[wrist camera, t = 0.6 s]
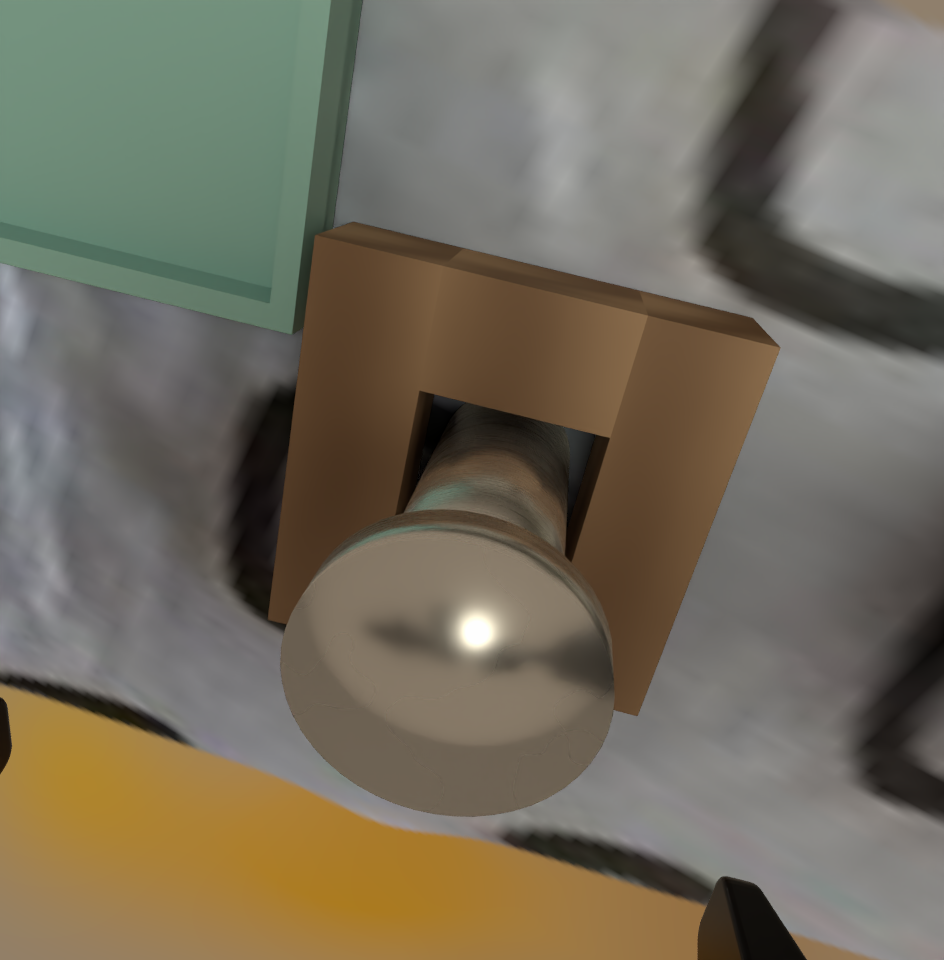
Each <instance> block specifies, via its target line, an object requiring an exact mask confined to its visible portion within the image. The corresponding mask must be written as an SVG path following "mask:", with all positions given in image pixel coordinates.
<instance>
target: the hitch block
mask: <svg viewBox="0 0 944 960" xmlns="http://www.w3.org/2000/svg"><path fill="white" fill-rule="evenodd" d="M779 350H780V347H779V346H778V344H777V343H776V342H775V341H774V340H773V339H772V338H771V337H770V336H769V335H768V334H767V333H766V332H765V331H764V330H763V329H762V328H761V326H760V325H759V324H758V323H757V322H756V321H755V320H754V319H753V318H751V317H746V316H742V315H738V314H734V313H730V312H726V311H721V310H717V309H713V308H709V307H705V306H701V305H697V304H692V303H688V302H684V301H680V300H676V299H672V298H668V297H663V296H659V295H655V294H651V293H647V292H643V291H639V290H634V289H630V288H626V287H622V286H618V285H614V284H609V283H605V282H601V281H597V280H593V279H589V278H585V277H580V276H576V275H572V274H568V273H564V272H560V271H556V270H551V269H547V268H543V267H539V266H535V265H531V264H527V263H522V262H518V261H514V260H510V259H506V258H502V257H497V256H493V255H489V254H485V253H481V252H477V251H473V250H468V249H464V248H460V247H456V246H452V245H448V244H444V243H439V242H435V241H431V240H427V239H423V238H419V237H415V236H410V235H406V234H402V233H398V232H394V231H390V230H385V229H381V228H377V227H373V226H369V225H365V224H361V223H356V222H351V223H349V224H346V225H343V226H340V227H337V228H334V229H331V230H328V231H325V232H322V233H319V234H316V235H315V239H314V247H313V255H312V264H311V272H310V280H309V288H308V296H307V304H306V312H305V321H304V329H303V337H302V345H301V353H300V361H299V369H298V378H297V386H296V394H295V402H294V410H293V418H292V427H291V435H290V443H289V451H288V459H287V467H286V475H285V484H284V492H283V500H282V508H281V516H280V524H279V532H278V541H277V549H276V557H275V565H274V573H273V581H272V589H271V598H270V606H269V614H268V620H271V621H275V622H279V623H283V624H287V623H288V621H289V618H290V616H291V613H292V611H293V610H294V608H295V606H296V605H297V603H298V601H299V600H300V598H301V597H302V595H303V593H304V592H305V590H306V589H307V587H308V585H309V584H310V582H311V581H312V579H313V577H314V576H315V574H316V573H317V571H318V569H319V568H320V566H321V565H322V563H323V562H324V561H325V560H326V559H327V557H328V556H329V555H330V554H331V553H332V551H333V550H335V549H336V548H337V547H338V546H339V545H340V544H341V543H343V542H344V541H345V540H346V539H347V538H349V537H350V536H352V535H353V534H355V533H356V532H358V531H359V530H361V529H363V528H365V527H367V526H369V525H371V524H373V523H375V522H377V521H380V520H382V519H385V518H389V517H392V516H395V515H398V514H402V513H404V511H405V509H406V507H407V505H408V503H409V501H410V499H411V497H412V495H413V493H414V491H415V487H416V482H417V477H418V472H419V467H420V463H421V458H422V453H423V448H424V443H425V438H426V433H427V428H428V423H429V418H430V413H431V408H432V403H433V398H434V394H435V395H439V396H443V397H447V398H451V399H455V400H459V401H463V402H467V403H471V404H475V405H479V406H483V407H487V408H491V409H496V410H500V411H504V412H508V413H512V414H516V415H520V416H524V417H528V418H532V419H536V420H540V421H544V422H548V423H552V424H556V425H560V426H564V427H568V428H572V429H576V430H580V431H584V432H588V433H592V434H596V436H595V439H594V443H593V446H592V449H591V453H590V456H589V459H588V463H587V466H586V469H585V473H584V476H583V479H582V483H581V486H580V489H579V493H578V496H577V499H576V503H575V506H574V509H573V513H572V516H571V519H570V523H569V526H568V529H567V533H566V542H565V556H566V557H567V558H568V559H569V560H570V561H571V563H572V564H573V565H574V566H575V567H576V568H577V569H578V570H579V571H580V572H581V573H582V575H583V576H584V577H585V579H586V580H587V581H588V583H589V584H590V585H591V587H592V588H593V590H594V592H595V594H596V596H597V597H598V599H599V601H600V603H601V605H602V608H603V610H604V613H605V615H606V618H607V621H608V625H609V629H610V634H611V639H612V655H613V675H614V694H615V699H614V708H613V710H616V711H620V712H624V713H627V714H631V715H635V716H638V713H639V711H640V708H641V706H642V703H643V701H644V698H645V695H646V693H647V690H648V688H649V685H650V683H651V680H652V677H653V675H654V672H655V670H656V667H657V665H658V662H659V659H660V657H661V654H662V652H663V649H664V646H665V644H666V641H667V639H668V636H669V634H670V631H671V628H672V626H673V623H674V621H675V618H676V616H677V613H678V610H679V608H680V605H681V603H682V600H683V598H684V595H685V592H686V590H687V587H688V585H689V582H690V580H691V577H692V574H693V572H694V569H695V567H696V564H697V562H698V559H699V556H700V554H701V551H702V549H703V546H704V544H705V541H706V538H707V536H708V533H709V531H710V528H711V525H712V523H713V520H714V518H715V515H716V513H717V510H718V507H719V505H720V502H721V500H722V497H723V495H724V492H725V489H726V487H727V484H728V482H729V479H730V477H731V474H732V471H733V469H734V466H735V464H736V461H737V459H738V456H739V453H740V451H741V448H742V446H743V443H744V441H745V438H746V435H747V433H748V430H749V428H750V425H751V423H752V420H753V417H754V415H755V412H756V410H757V407H758V404H759V402H760V399H761V397H762V394H763V392H764V389H765V386H766V384H767V381H768V379H769V376H770V374H771V371H772V368H773V366H774V363H775V361H776V358H777V356H778V353H779Z"/></svg>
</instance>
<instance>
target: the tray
mask: <svg viewBox="0 0 944 960" xmlns="http://www.w3.org/2000/svg"><path fill="white" fill-rule="evenodd" d="M361 8H362V0H0V263H3V264H7V265H11V266H15V267H20V268H24V269H28V270H32V271H36V272H40V273H44V274H48V275H52V276H56V277H60V278H64V279H68V280H72V281H76V282H80V283H84V284H88V285H92V286H96V287H100V288H104V289H109V290H113V291H117V292H121V293H125V294H129V295H133V296H137V297H141V298H145V299H149V300H153V301H157V302H161V303H165V304H169V305H173V306H177V307H181V308H185V309H189V310H193V311H198V312H202V313H206V314H210V315H214V316H218V317H222V318H226V319H230V320H234V321H238V322H242V323H246V324H250V325H254V326H258V327H262V328H266V329H270V330H274V331H278V332H282V333H286V334H291V335H292V334H294V333H296V332H297V331H299V330H300V329H302V328H303V327H304V321H305V312H306V304H307V296H308V288H309V280H310V272H311V264H312V255H313V247H314V239H315V235H316V234H319V233H322V232H325V231H328V230H331V229H332V228H333V221H334V213H335V205H336V198H337V190H338V183H339V175H340V167H341V160H342V152H343V145H344V137H345V129H346V122H347V114H348V107H349V99H350V91H351V84H352V76H353V68H354V61H355V53H356V46H357V38H358V30H359V23H360V15H361Z"/></svg>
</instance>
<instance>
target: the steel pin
mask: <svg viewBox="0 0 944 960" xmlns="http://www.w3.org/2000/svg"><path fill="white" fill-rule="evenodd" d="M569 466H570V446H569V441H568V437H567V434H566V432H565V429H564V427H563V426H560V425H556V424H552V423H548V422H544V421H540V420H536V419H532V418H528V417H524V416H520V415H516V414H512V413H508V412H504V411H500V410H496V409H491V408H487V407H483V406H479V405H475V404H471V403H465V404H464V405H463V406H461V407H460V408H459V409H458V410H457V411H456V412H455V414H454V415H453V416H452V417H451V419H450V420H449V422H448V424H447V426H446V428H445V430H444V432H443V434H442V436H441V438H440V440H439V442H438V444H437V446H436V448H435V450H434V452H433V454H432V456H431V458H430V460H429V462H428V464H427V466H426V468H425V470H424V472H423V474H422V476H421V479H420V481H419V483H418V485H417V487H416V489H415V491H414V493H413V495H412V497H411V499H410V501H409V503H408V505H407V507H406V509H405V511H404V513H402V514H398V515H395V516H392V517H389V518H385V519H382V520H380V521H377V522H375V523H373V524H371V525H369V526H367V527H365V528H363V529H361V530H359V531H358V532H356V533H355V534H353V535H352V536H350V537H349V538H347V539H346V540H345V541H344V542H343V543H341V544H340V545H339V546H338V547H337V548H336V549H335V550H333V551H332V553H331V554H330V555H329V556H328V557H327V559H326V560H325V561H324V562H323V563H322V565H321V566H320V568H319V569H318V571H317V573H316V574H315V576H314V577H313V579H312V581H311V582H310V584H309V585H308V587H307V589H306V590H305V592H304V593H303V595H302V597H301V598H300V600H299V601H298V603H297V605H296V606H295V608H294V610H293V611H292V613H291V616H290V618H289V621H288V623H287V626H286V628H285V632H284V637H283V641H282V646H281V661H280V667H281V677H282V684H283V688H284V692H285V696H286V700H287V702H288V705H289V707H290V709H291V712H292V714H293V717H294V718H295V720H296V722H297V724H298V725H299V727H300V729H301V731H302V733H303V734H304V735H305V737H306V738H307V739H308V741H309V742H310V743H311V745H312V746H313V747H314V748H315V750H316V751H317V752H318V753H319V754H320V755H321V756H322V757H323V758H324V759H325V760H326V761H327V762H328V763H329V764H330V765H331V766H333V767H334V768H335V769H336V770H337V771H338V772H340V773H341V774H342V775H343V776H345V777H346V778H348V779H349V780H351V781H352V782H353V783H355V784H356V785H358V786H360V787H361V788H363V789H365V790H367V791H369V792H370V793H372V794H374V795H376V796H378V797H381V798H383V799H385V800H388V801H390V802H392V803H395V804H398V805H401V806H404V807H407V808H410V809H413V810H418V811H423V812H427V813H432V814H439V815H447V816H469V817H474V816H486V815H495V814H501V813H506V812H511V811H515V810H518V809H521V808H524V807H528V806H531V805H533V804H535V803H538V802H540V801H542V800H544V799H547V798H549V797H550V796H552V795H554V794H555V793H557V792H558V791H560V790H562V789H563V788H565V787H566V786H567V785H568V784H570V783H571V782H572V781H573V780H575V779H576V778H577V777H578V776H579V775H580V774H581V773H582V772H583V771H584V770H585V769H586V768H587V767H588V765H589V764H590V763H591V762H592V760H593V759H594V757H595V756H596V754H597V753H598V751H599V750H600V748H601V746H602V744H603V742H604V740H605V738H606V736H607V733H608V730H609V727H610V723H611V720H612V716H613V708H614V699H615V694H614V675H613V655H612V639H611V634H610V629H609V625H608V621H607V618H606V615H605V613H604V610H603V608H602V605H601V603H600V601H599V599H598V597H597V596H596V594H595V592H594V590H593V588H592V587H591V585H590V584H589V583H588V581H587V580H586V579H585V577H584V576H583V575H582V573H581V572H580V571H579V570H578V569H577V568H576V567H575V566H574V565H573V564H572V563H571V561H570V560H569V559H568V558H567V557H566V556H565V542H566V523H567V504H568V485H569Z"/></svg>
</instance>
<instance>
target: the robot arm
mask: <svg viewBox="0 0 944 960" xmlns="http://www.w3.org/2000/svg"><path fill="white" fill-rule="evenodd" d="M11 748H12V743H11V733H10V725H9V716H8V708H7V704H6V702H5V701H4V700H3V699H2V698H0V774H1V772H2V771H3V769H4V768H5V766H6V764H7V762H8V760H9V757H10V754H11ZM698 960H807V959H806V958H805V956H804V955H803V953H802V952H801V950H800V949H799V947H798V946H797V944H796V943H795V941H794V940H793V938H792V936H791V935H790V933H789V932H788V930H787V929H786V927H785V926H784V924H783V923H782V921H781V920H780V918H779V917H778V915H777V913H776V912H775V910H774V909H773V907H772V906H771V904H770V903H769V901H768V900H767V898H766V897H765V895H764V894H763V892H762V891H761V889H760V888H759V887H758V886H757V885H755V884H754V883H751V882H748V881H744V880H740V879H736V878H731V877H727V876H723V877H721V878H720V879H719V880H718V881H717V883H716V885H715V888H714V890H713V892H712V895H711V897H710V900H709V902H708V905H707V907H706V909H705V912H704V915H703V917H702V919H701V922H700V926H699V932H698Z"/></svg>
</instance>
